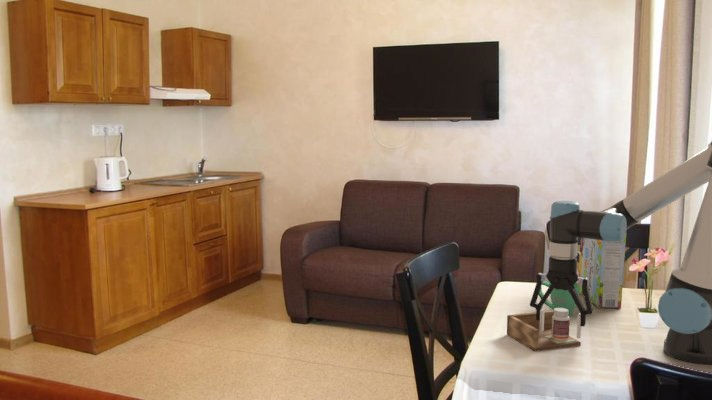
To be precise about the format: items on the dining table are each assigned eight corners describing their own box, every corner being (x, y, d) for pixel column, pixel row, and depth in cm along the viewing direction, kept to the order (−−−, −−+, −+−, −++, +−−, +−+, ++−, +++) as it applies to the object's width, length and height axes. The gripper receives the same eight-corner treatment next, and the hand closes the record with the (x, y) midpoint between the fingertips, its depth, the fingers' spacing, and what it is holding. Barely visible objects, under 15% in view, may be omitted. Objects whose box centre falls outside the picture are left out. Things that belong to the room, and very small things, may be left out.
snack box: (624, 308, 212) (628, 232, 209) (597, 308, 213) (601, 232, 209) (599, 291, 234) (603, 221, 231) (576, 291, 234) (579, 221, 231)
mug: (585, 314, 207) (586, 284, 205) (570, 320, 200) (571, 289, 199) (544, 304, 217) (545, 276, 216) (528, 310, 211) (529, 281, 209)
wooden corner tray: (580, 345, 179) (581, 324, 178) (534, 351, 174) (534, 330, 173) (550, 329, 192) (551, 310, 191) (506, 335, 187) (507, 315, 186)
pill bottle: (572, 340, 179) (573, 311, 178) (556, 341, 178) (557, 312, 177) (563, 334, 184) (564, 306, 183) (548, 336, 183) (549, 307, 182)
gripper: (606, 257, 176) (603, 336, 179) (525, 250, 186) (523, 324, 189) (603, 263, 170) (600, 344, 173) (519, 255, 180) (517, 332, 182)
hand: (559, 334), depth 181 cm, fingers open, 9 cm apart
